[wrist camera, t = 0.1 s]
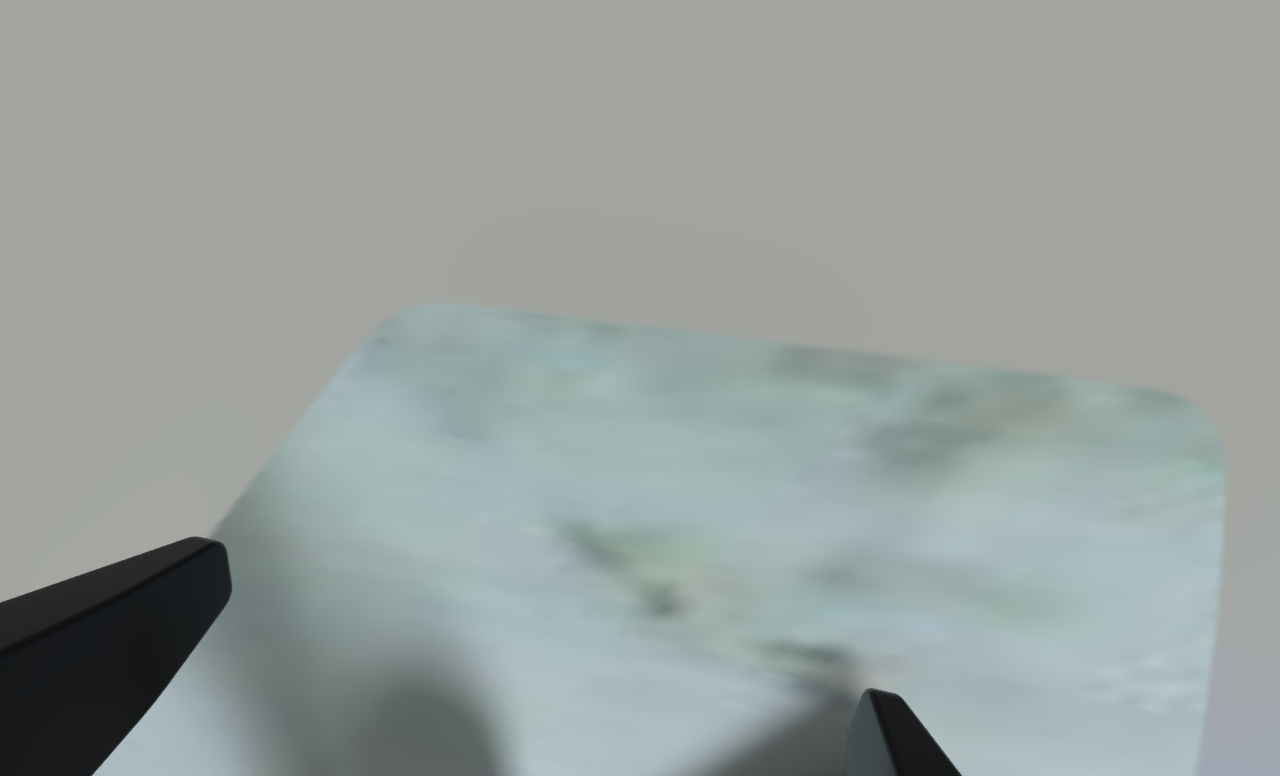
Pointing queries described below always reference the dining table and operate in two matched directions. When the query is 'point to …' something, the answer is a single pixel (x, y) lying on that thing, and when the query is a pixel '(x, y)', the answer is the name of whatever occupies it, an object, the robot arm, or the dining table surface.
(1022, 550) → the dining table surface
